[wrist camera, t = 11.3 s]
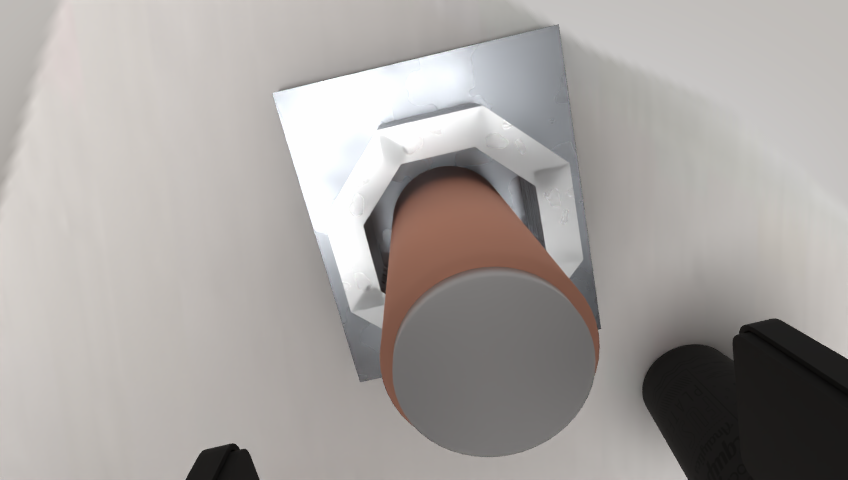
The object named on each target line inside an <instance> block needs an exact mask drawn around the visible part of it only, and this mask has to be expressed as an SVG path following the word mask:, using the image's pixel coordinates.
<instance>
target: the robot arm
mask: <svg viewBox="0 0 848 480" xmlns="http://www.w3.org/2000/svg"><path fill="white" fill-rule="evenodd" d="M733 356H734V370H735V384H736V398H737V412H738V425H739V439H740V453H741V458H742V461H743V464H744V466H745V468H746V470H747V471H748V473H749V474H750V475H751V477H752V478H753V479H754V480H848V359H847V358H845V357H843V356H841V355H840V354H838V353H836V352H835V351H833V350H831V349H829V348H828V347H826V346H824V345H822V344H821V343H819V342H817V341H816V340H814V339H812V338H810V337H809V336H807V335H805V334H804V333H802V332H800V331H798V330H797V329H795V328H793V327H792V326H790V325H788V324H786V323H785V322H783V321H781V320H779V319H769V320H764V321H760V322H756V323H751V324H747V325H744V326H742V327H741V329H740V331H739V335H736V336H735V337H734V338H733ZM186 480H259V477H258V474H257V472H256V469H255V466H254V464H253V461H252V459H251V456H250V454H249V452H248V451H247V450H246V449H241V450H240V449H239V447H238V446H237V445H236V444H233V443H232V444H228V445H223V446H219V447H215V448H210V449H206V450H204V451H202V452H201V453H200V455H199V456H198V458H197V460H196V462H195V463H194V465H193V467H192V469H191V471H190V472H189V474H188V476H187V478H186Z"/></svg>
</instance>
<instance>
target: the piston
mask: <svg viewBox="0 0 848 480" xmlns="http://www.w3.org/2000/svg"><path fill="white" fill-rule="evenodd" d="M599 347H600V346H599V333H598V329H597V324H596V320H595V318H594V315H593V312H592V310H591V308H590V306H589V304H588V303H587V301H586V299H585V297H584V296H583V295H582V294H581V292H580V291H579V290H578V288H577V287H576V286H575V285H574V284H573V282H572V281H571V280H570V279H569V278H568V276H567V275H566V274H565V273H564V271H563V270H562V269H561V268H560V267H559V265H558V264H557V263H556V262H555V261H554V259H553V258H552V257H551V256H550V255H549V253H548V252H547V251H546V250H545V249H544V247H543V246H542V245H541V244H540V243H539V241H538V240H537V239H536V238H535V237H534V235H533V234H532V233H531V232H530V230H529V229H528V228H527V227H526V226H525V224H524V223H523V222H522V221H521V220H520V218H519V217H518V216H517V215H516V214H515V212H514V211H513V210H512V209H511V208H510V206H509V205H508V204H507V203H506V202H505V200H504V199H503V198H502V197H501V196H500V194H499V193H498V192H497V191H496V190H495V188H494V187H493V186H492V185H491V184H490V183H489V182H488V181H487V180H486V179H485V178H484V177H482V176H481V175H480V174H478V173H476V172H474V171H472V170H469V169H467V168H463V167H458V166H442V167H436V168H433V169H430V170H427V171H425V172H423V173H421V174H420V175H418V176H416V177H415V178H414V179H413V180H411V181H410V182H409V183H408V184H407V185H406V186H405V188H404V189H403V191H402V192H401V194H400V195H399V197H398V199H397V202H396V204H395V208H394V212H393V222H392V232H391V243H390V253H389V263H388V274H387V284H386V294H385V305H384V315H383V325H382V336H381V347H380V369H381V374H382V379H383V382H384V385H385V388H386V391H387V393H388V395H389V397H390V399H391V401H392V402H393V404H394V406H395V407H396V408H397V410H398V411H399V412H400V414H401V415H402V416H403V417H404V418H405V419H406V420H407V421H408V422H409V423H410V424H411V425H413V426H414V427H415V428H416V429H417V430H418V431H419V432H420V433H421V434H423V435H424V436H425V437H427V438H428V439H429V440H431V441H432V442H434V443H436V444H438V445H439V446H441V447H444V448H446V449H448V450H451V451H454V452H457V453H461V454H465V455H471V456H479V457H498V456H505V455H512V454H516V453H519V452H523V451H526V450H528V449H531V448H534V447H536V446H538V445H540V444H542V443H544V442H546V441H547V440H549V439H550V438H552V437H553V436H555V435H556V434H558V433H559V432H560V431H561V430H562V429H564V428H565V427H566V426H567V425H568V424H569V423H570V422H571V421H572V420H573V418H574V417H575V416H576V415H577V413H578V412H579V411H580V409H581V408H582V406H583V404H584V403H585V401H586V399H587V397H588V395H589V392H590V389H591V387H592V383H593V379H594V375H595V373H596V369H597V364H598V360H599Z"/></svg>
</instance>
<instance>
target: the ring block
mask: <svg viewBox="0 0 848 480" xmlns="http://www.w3.org/2000/svg"><path fill="white" fill-rule="evenodd" d="M272 94H273V97H274V101H275V104H276V107H277V111H278V114H279V117H280V120H281V124H282V127H283V130H284V134H285V137H286V140H287V143H288V147H289V150H290V153H291V157H292V160H293V163H294V166H295V170H296V173H297V176H298V180H299V183H300V186H301V189H302V193H303V196H304V199H305V203H306V206H307V209H308V212H309V216H310V219H311V222H312V225H313V229H314V232H315V235H316V239H317V242H318V245H319V248H320V252H321V255H322V258H323V262H324V265H325V268H326V271H327V275H328V278H329V281H330V285H331V288H332V291H333V294H334V298H335V301H336V304H337V308H338V311H339V314H340V317H341V321H342V324H343V327H344V331H345V334H346V337H347V340H348V344H349V347H350V350H351V354H352V357H353V360H354V363H355V367H356V370H357V373H358V377H359V380H360V382H363V381H367V380H372V379H376V378H381V377H382V374H381V369H380V347H381V336H382V325H383V315H384V305H385V294H386V284H387V274H388V263H389V253H390V243H391V232H392V222H393V212H394V208H395V204H396V202H397V199H398V197H399V195H400V194H401V192H402V191H403V189H404V188H405V186H406V185H407V184H408V183H409V182H410V181H411V180H413V179H414V178H415V177H416V176H418V175H420V174H421V173H423V172H425V171H427V170H430V169H433V168H436V167H442V166H458V167H463V168H467V169H469V170H472V171H474V172H476V173H478V174H480V175H481V176H482V177H484V178H485V179H486V180H487V181H488V182H489V183H490V184H491V185H492V186H493V187H494V188H495V190H496V191H497V192H498V193H499V194H500V196H501V197H502V198H503V199H504V200H505V202H506V203H507V204H508V205H509V206H510V208H511V209H512V210H513V211H514V212H515V214H516V215H517V216H518V217H519V218H520V220H521V221H522V222H523V223H524V224H525V226H526V227H527V228H528V229H529V230H530V232H531V233H532V234H533V235H534V237H535V238H536V239H537V240H538V241H539V243H540V244H541V245H542V246H543V247H544V249H545V250H546V251H547V252H548V253H549V255H550V256H551V257H552V258H553V259H554V261H555V262H556V263H557V264H558V265H559V267H560V268H561V269H562V270H563V271H564V273H565V274H566V275H567V276H568V278H569V279H570V280H571V281H572V282H573V284H574V285H575V286H576V287H577V288H578V290H579V291H580V292H581V294H582V295H583V296H584V297H585V299H586V301H587V303H588V304H589V306H590V308H591V310H592V312H593V315H594V318H595V320H596V324H597V329H601V326H600V319H599V311H598V304H597V297H596V290H595V283H594V275H593V268H592V261H591V254H590V247H589V239H588V232H587V225H586V218H585V211H584V203H583V196H582V189H581V182H580V175H579V167H578V160H577V153H576V146H575V139H574V131H573V124H572V117H571V110H570V103H569V96H568V88H567V81H566V74H565V67H564V60H563V52H562V45H561V38H560V31H559V25H554V26H550V27H546V28H542V29H537V30H533V31H529V32H525V33H521V34H517V35H512V36H508V37H504V38H500V39H496V40H492V41H487V42H483V43H479V44H475V45H471V46H467V47H463V48H458V49H454V50H450V51H446V52H442V53H438V54H433V55H429V56H425V57H421V58H417V59H413V60H408V61H404V62H400V63H396V64H392V65H388V66H383V67H379V68H375V69H371V70H367V71H363V72H358V73H354V74H350V75H346V76H342V77H338V78H334V79H329V80H325V81H321V82H317V83H313V84H309V85H304V86H300V87H296V88H292V89H288V90H284V91H279V92H275V93H272Z"/></svg>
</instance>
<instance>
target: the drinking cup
mask: <svg viewBox="0 0 848 480" xmlns="http://www.w3.org/2000/svg"><path fill="white" fill-rule="evenodd" d="M643 399H644V402H645V405H646V407H647V409H648V410H649V412H650V414H651V416H652V417H653V419H654V421H655V423H656V424H657V426H658V428H659V430H660V431H661V433H662V435H663V437H664V438H665V440H666V442H667V443H668V445H669V447H670V449H671V450H672V452H673V454H674V456H675V457H676V459H677V461H678V463H679V464H680V466H681V468H682V470H683V471H684V473H685V475H686V477H687V478H688V480H754V479H753V478H752V477H751V475H750V474H749V473H748V471H747V470H746V468H745V466H744V464H743V461H742V458H741V453H740V439H739V425H738V412H737V398H736V384H735V370H734V361H733V360H731V359H730V358H728V357H727V356H725V355H724V354H722V353H721V352H719V351H718V350H716V349H714V348H712V347H708V346H704V345H686V346H682V347H678V348H676V349H673V350H671V351H669V352H667V353H666V354H664V355H663V356H661V357H660V358H659V359H658V360H657V361H656V362H655V363H654V364H653V365H652V366H651V368H650V369H649V371H648V373H647V375H646V377H645V380H644V384H643Z"/></svg>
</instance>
